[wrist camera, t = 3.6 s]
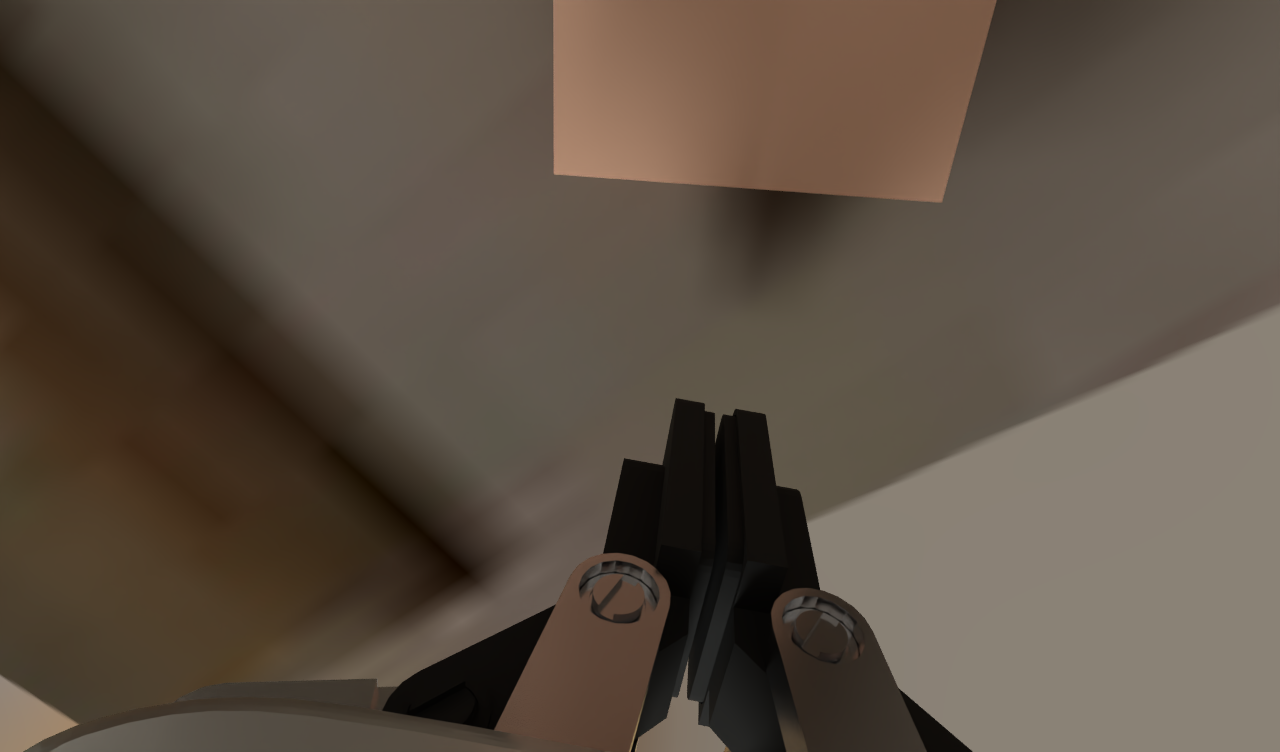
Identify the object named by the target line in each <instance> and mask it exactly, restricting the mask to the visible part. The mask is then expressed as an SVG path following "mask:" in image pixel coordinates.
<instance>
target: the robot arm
mask: <svg viewBox="0 0 1280 752" xmlns="http://www.w3.org/2000/svg"><path fill="white" fill-rule="evenodd" d="M688 657H689V659H688ZM687 661H688V685H687V698H688V700H693V701H698V702H699V718H698V721H699V722H698V724H699V725H703V726H708V727H710V728H711V729H712V730H713V731H714V732H715V734H716V735H717V736H718V737H719V738H720V739H721V740H722V741H723V743H724V744H725V745H726V746H725V749H724V752H972V751H971V750H970V749H969V748H968V747H967V746H965V745H964V744H963V743H962V742H961V741H960V740H958V739H957V738H956V737H955V736H954V735H952V734H951V733H950V732H949V731H948V730H947V729H946V728H944V727H943V726H942V725H941V724H940V723H939V722H937V721H936V720H935V719H934V718H933V717H931V716H930V715H929V714H928V713H927V712H926V711H924V710H923V709H922V708H921V707H920V706H919V705H918V704H916V703H915V702H914V701H913V700H911V699H910V698H909V697H908V696H907V695H906V694H905V693H903V692H902V691H901V690H900V689H899V688H898V687H897V684H896V682H895V680H894V677H893V675H892V673H891V671H890V669H889V666H888V664H887V662H886V660H885V658H884V655H883V653H882V651H881V649H880V646H879V644H878V642H877V640H876V638H875V635H874V633H873V631H872V629H871V628H870V626H869V624H868V623H867V621H866V620H865V618H864V617H863V616H862V615H861V614H860V613H859V612H858V611H857V610H856V609H855V608H854V607H853V606H851V605H850V604H848V603H847V602H845V601H844V600H842V599H841V598H839V597H837V596H835V595H832V594H830V593H827V592H825V591H822V590H820V587H819V582H818V577H817V572H816V567H815V562H814V557H813V552H812V547H811V542H810V537H809V532H808V527H807V522H806V517H805V512H804V507H803V502H802V497H801V494H800V492H799V491H798V490H797V489H791V488H786V487H780V486H776V482H775V475H774V468H773V461H772V455H771V448H770V441H769V434H768V427H767V421H766V415H765V414H762V413H756V412H750V411H745V410H739V409H735V411H734V413H733V416H729V415H724V414H723V416H722V419H721V422H720V427H719V431H718V435H717V439H716V443H715V413H713V412H707V411H705V404H704V403H700V402H694V401H688V400H683V399H677V398H676V400H675V404H674V409H673V414H672V419H671V424H670V429H669V434H668V440H667V445H666V450H665V455H664V460H663V465H658V464H653V463H647V462H641V461H636V460H630V459H625V458H624V461H623V466H622V470H621V475H620V479H619V484H618V488H617V493H616V498H615V502H614V507H613V511H612V516H611V520H610V525H609V529H608V534H607V539H606V543H605V548H604V552H603V554H600V555H597V556H594V557H590V558H588V559H587V560H585V561H584V562H582V563H581V564H579V565H578V566H577V567H576V569H575V570H574V571H573V573H572V574H571V575H570V577H569V579H568V581H567V583H566V585H565V587H564V589H563V591H562V593H561V595H560V598H559V600H558V602H557V604H556V605H554V606H552V607H550V608H548V609H546V610H544V611H542V612H540V613H538V614H536V615H534V616H531V617H529V618H527V619H525V620H523V621H521V622H519V623H517V624H515V625H513V626H511V627H509V628H507V629H505V630H503V631H501V632H499V633H497V634H495V635H493V636H491V637H489V638H487V639H484V640H482V641H480V642H478V643H476V644H474V645H472V646H470V647H468V648H466V649H464V650H462V651H460V652H458V653H456V654H454V655H452V656H450V657H448V658H446V659H444V660H442V661H439V662H437V663H435V664H433V665H431V666H429V667H427V668H425V669H423V670H421V671H419V672H417V673H416V674H414V675H413V676H411V677H410V678H408V679H407V680H405V681H404V682H402V683H401V684H400V685H399V686H398V687H378V684H377V679H348V680H313V681H279V682H244V683H223V684H217V685H212V686H206V687H202V688H200V689H198V690H196V691H193V692H191V693H189V694H187V695H184V696H182V697H180V698H179V699H177V700H176V701H175V702H173V703H169V704H163V705H157V706H151V707H145V708H138V709H133V710H129V711H125V712H121V713H117V714H114V715H110V716H106V717H102V718H99V719H96V720H93V721H90V722H87V723H84V724H80V725H77V726H75V727H72V728H70V729H68V730H65V731H63V732H61V733H58V734H56V735H54V736H52V737H49V738H47V739H44V740H43V741H41V742H39V743H37V744H36V745H34V746H32V747H30V748H29V749H27V750H25V751H24V752H636V749H637V744H638V740H639V737H640V736H641V735H643V734H644V733H646V732H647V731H649V730H650V729H651V728H653V727H654V726H656V725H657V724H658V723H660V722H661V721H663V720H664V719H666V717H667V713H668V709H669V706H670V702H671V698H672V697H678V695H679V691H680V687H681V684H682V680H683V676H684V672H685V669H686V665H687Z"/></svg>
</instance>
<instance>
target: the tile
mask: <svg viewBox="0 0 1280 752" xmlns="http://www.w3.org/2000/svg"><path fill="white" fill-rule="evenodd" d="M996 1H997V0H553V10H554V174H558V175H572V176H585V177H599V178H612V179H626V180H640V181H653V182H667V183H680V184H694V185H708V186H721V187H735V188H749V189H762V190H776V191H789V192H803V193H817V194H830V195H844V196H857V197H871V198H885V199H898V200H912V201H926V202H939V203H942V200H943V196H944V192H945V189H946V185H947V181H948V178H949V174H950V170H951V167H952V163H953V159H954V156H955V152H956V148H957V145H958V141H959V137H960V134H961V130H962V126H963V123H964V119H965V115H966V111H967V108H968V104H969V100H970V97H971V93H972V89H973V86H974V82H975V78H976V75H977V71H978V67H979V64H980V60H981V56H982V53H983V49H984V45H985V41H986V38H987V34H988V30H989V27H990V23H991V19H992V16H993V12H994V8H995V5H996Z"/></svg>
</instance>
